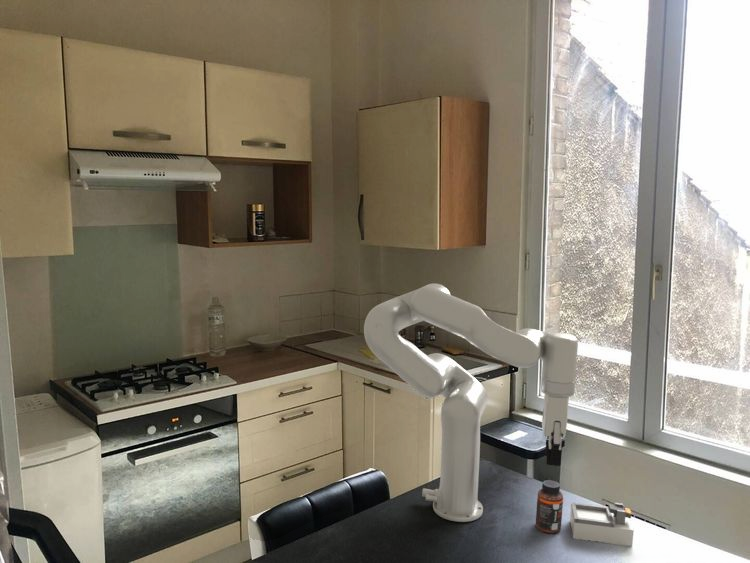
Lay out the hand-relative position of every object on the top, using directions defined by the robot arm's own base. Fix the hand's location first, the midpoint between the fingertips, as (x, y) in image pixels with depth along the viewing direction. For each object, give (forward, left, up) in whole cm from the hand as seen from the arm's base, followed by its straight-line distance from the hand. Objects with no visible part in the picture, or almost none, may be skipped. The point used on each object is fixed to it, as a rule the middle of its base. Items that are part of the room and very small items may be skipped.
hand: (552, 459), depth 146 cm
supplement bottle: (0, 0, -18) cm, 18 cm away
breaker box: (+12, +1, -17) cm, 21 cm away
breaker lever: (+16, +1, -11) cm, 19 cm away
